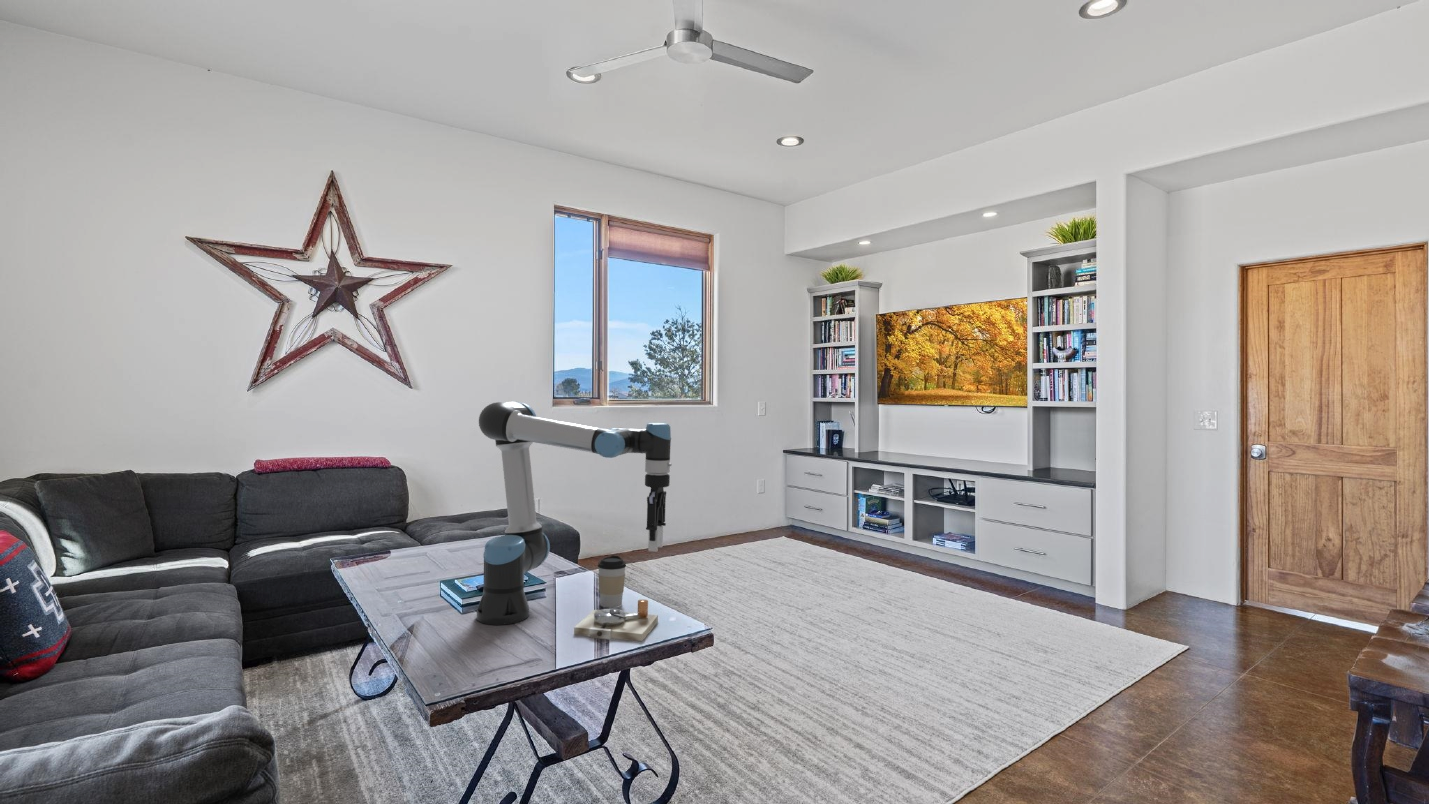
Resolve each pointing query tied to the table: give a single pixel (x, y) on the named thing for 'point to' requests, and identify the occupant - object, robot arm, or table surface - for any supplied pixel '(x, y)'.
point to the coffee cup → (611, 581)
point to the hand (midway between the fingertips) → (655, 548)
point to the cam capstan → (620, 615)
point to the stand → (617, 628)
